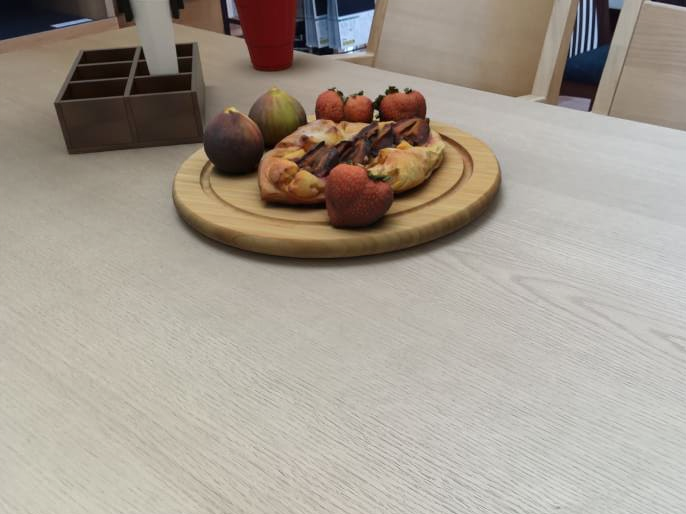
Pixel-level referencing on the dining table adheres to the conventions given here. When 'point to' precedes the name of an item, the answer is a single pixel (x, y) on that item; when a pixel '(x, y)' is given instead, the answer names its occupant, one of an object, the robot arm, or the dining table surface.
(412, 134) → the wooden plate
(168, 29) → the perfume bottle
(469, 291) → the dining table surface
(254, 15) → the plastic cup
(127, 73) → the rack
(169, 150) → the dining table surface
